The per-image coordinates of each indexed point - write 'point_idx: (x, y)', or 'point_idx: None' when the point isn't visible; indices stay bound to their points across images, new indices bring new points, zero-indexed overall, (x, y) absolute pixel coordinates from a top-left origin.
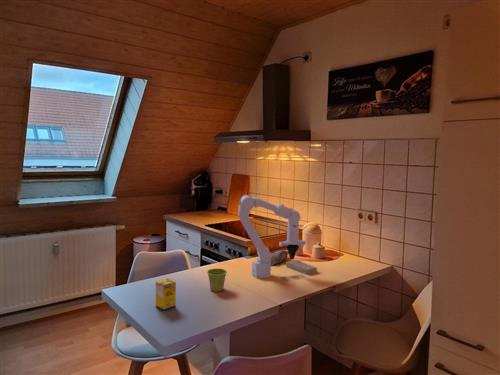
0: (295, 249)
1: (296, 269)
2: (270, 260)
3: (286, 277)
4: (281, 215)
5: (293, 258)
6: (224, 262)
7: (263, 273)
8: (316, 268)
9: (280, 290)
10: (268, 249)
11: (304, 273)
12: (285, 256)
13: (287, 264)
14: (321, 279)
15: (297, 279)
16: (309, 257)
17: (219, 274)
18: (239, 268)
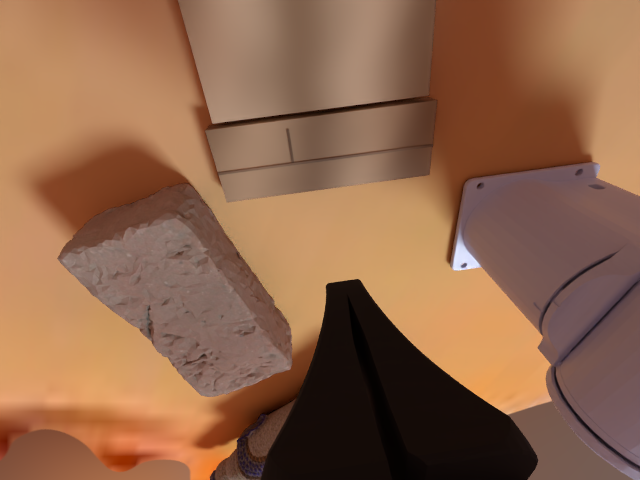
0: (349, 410)
1: (247, 282)
2: (588, 285)
3: (385, 156)
4: None
5: (335, 287)
6: (529, 404)
7: (578, 197)
8: (64, 249)
9: None
10: (600, 443)
11: (201, 212)
12: (253, 438)
13: (288, 349)
14: (53, 98)
15: (312, 88)
16: (105, 446)
17: None
18: (524, 349)
